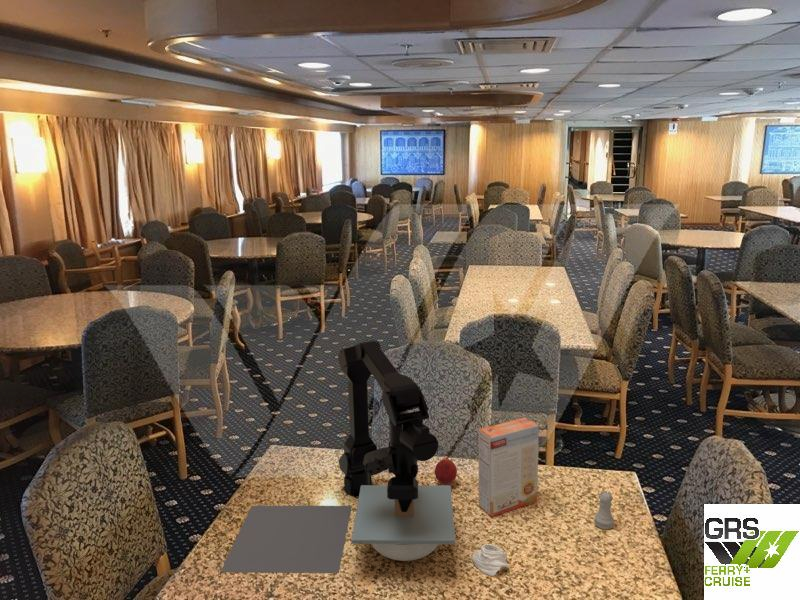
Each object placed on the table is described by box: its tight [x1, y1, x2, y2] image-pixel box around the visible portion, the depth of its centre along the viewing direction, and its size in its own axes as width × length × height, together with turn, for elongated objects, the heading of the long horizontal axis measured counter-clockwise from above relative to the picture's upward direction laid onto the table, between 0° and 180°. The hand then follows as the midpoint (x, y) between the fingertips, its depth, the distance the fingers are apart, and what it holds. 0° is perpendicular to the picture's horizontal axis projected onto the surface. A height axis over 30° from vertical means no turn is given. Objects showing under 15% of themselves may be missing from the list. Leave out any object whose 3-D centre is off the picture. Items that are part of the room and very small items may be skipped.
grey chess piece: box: [593, 490, 615, 530], centre depth 145 cm, size 4×4×8 cm
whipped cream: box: [472, 543, 511, 577], centre depth 133 cm, size 8×7×5 cm
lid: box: [350, 484, 456, 545], centre depth 136 cm, size 21×21×5 cm
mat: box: [220, 505, 353, 574], centre depth 143 cm, size 25×25×1 cm
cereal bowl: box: [370, 544, 439, 562], centre depth 138 cm, size 17×17×7 cm
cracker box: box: [477, 416, 540, 517], centre depth 153 cm, size 14×6×21 cm, turn 115°
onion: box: [434, 455, 458, 485], centre depth 164 cm, size 6×6×8 cm
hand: (404, 505), depth 136 cm, fingers closed on lid, 4 cm apart
